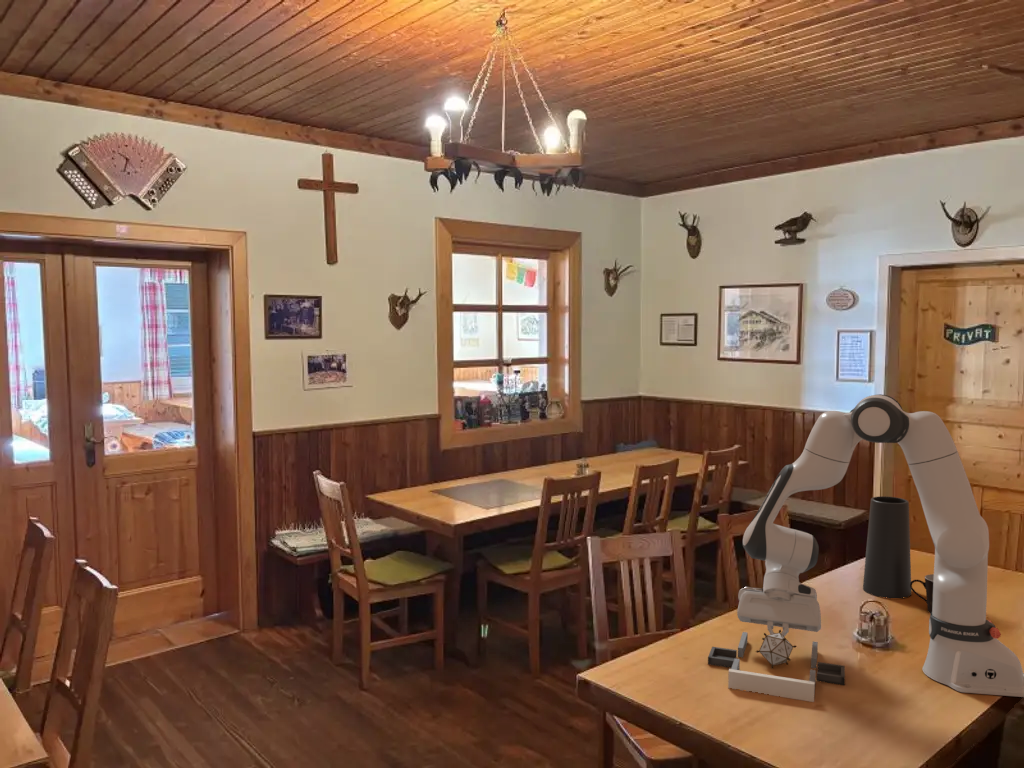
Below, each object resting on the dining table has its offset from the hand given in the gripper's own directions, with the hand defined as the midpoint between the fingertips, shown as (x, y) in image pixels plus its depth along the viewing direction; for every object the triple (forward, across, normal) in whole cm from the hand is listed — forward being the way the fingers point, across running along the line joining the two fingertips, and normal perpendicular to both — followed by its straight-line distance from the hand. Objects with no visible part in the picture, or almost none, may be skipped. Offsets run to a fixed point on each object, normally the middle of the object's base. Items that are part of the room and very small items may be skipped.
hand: (776, 641), depth 199 cm
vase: (-43, +28, +50) cm, 71 cm away
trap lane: (+7, 0, -1) cm, 7 cm away
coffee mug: (-33, +40, +40) cm, 65 cm away
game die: (+6, 0, 0) cm, 6 cm away
